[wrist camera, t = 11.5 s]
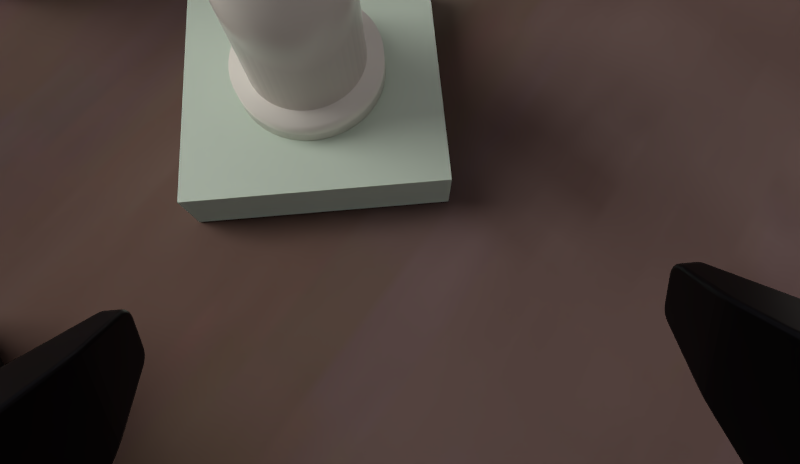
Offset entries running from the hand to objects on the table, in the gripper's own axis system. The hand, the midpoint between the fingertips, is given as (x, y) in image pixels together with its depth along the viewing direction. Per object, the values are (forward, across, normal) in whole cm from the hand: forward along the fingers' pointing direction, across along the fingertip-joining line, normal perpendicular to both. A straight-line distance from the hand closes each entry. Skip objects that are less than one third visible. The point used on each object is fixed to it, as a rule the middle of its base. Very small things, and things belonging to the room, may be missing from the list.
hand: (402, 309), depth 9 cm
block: (+18, +3, +1) cm, 19 cm away
